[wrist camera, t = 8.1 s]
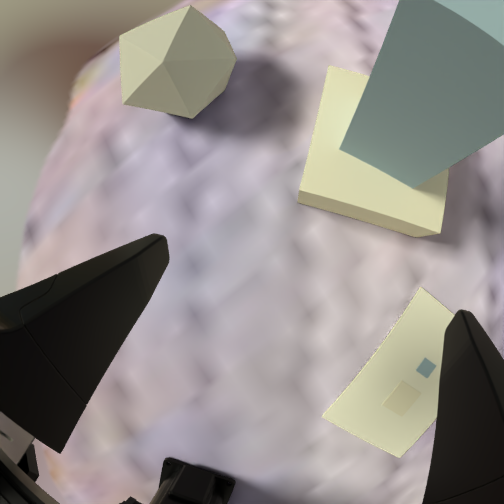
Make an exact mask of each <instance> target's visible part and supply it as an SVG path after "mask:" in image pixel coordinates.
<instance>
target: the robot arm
mask: <svg viewBox="0 0 504 504" xmlns="http://www.w3.org/2000/svg"><path fill="white" fill-rule="evenodd" d="M168 263H169V250H168V244H167V239H166V237H165V236H163V235H159V234H155V233H154V234H151V235H148V236H145V237H143V238H140V239H138V240H135V241H133V242H131V243H128V244H126V245H123V246H121V247H118V248H116V249H113V250H111V251H109V252H106V253H104V254H101V255H99V256H97V257H94V258H92V259H90V260H87V261H85V262H83V263H80V264H78V265H76V266H74V267H71V268H69V269H67V270H64V271H62V272H60V273H58V274H55V275H53V276H51V277H49V278H47V279H44V280H42V281H40V282H38V283H35V284H33V285H30V286H28V287H25V288H23V289H20V290H18V291H15V292H13V293H10V294H8V295H5V296H2V297H0V504H60V503H58V502H57V501H56V500H55V499H53V498H52V497H51V496H50V495H49V494H47V493H46V492H45V491H44V490H43V489H41V488H40V487H39V486H38V485H37V484H36V483H35V481H36V480H37V478H38V477H39V472H38V467H37V461H36V455H35V449H34V445H33V444H32V442H33V441H34V439H35V438H36V439H38V440H39V441H41V442H42V443H44V444H45V445H47V446H48V447H50V448H51V449H53V450H54V451H56V452H58V453H59V454H60V453H61V452H62V450H63V449H64V447H65V445H66V443H67V441H68V439H69V437H70V435H71V433H72V431H73V430H74V428H75V426H76V424H77V422H78V420H79V418H80V417H81V415H82V413H83V411H84V409H85V408H86V406H87V405H86V404H88V402H89V400H90V398H91V397H92V395H93V393H94V391H95V390H96V388H97V386H98V384H99V383H100V381H101V379H102V377H103V376H104V374H105V372H106V371H107V369H108V367H109V366H110V364H111V362H112V360H113V359H114V357H115V355H116V354H117V352H118V350H119V349H120V347H121V346H122V344H123V342H124V341H125V339H126V337H127V336H128V334H129V333H130V331H131V329H132V328H133V326H134V325H135V323H136V321H137V320H138V318H139V317H140V315H141V313H142V312H143V310H144V309H145V307H146V305H147V304H148V302H149V300H150V299H151V297H152V295H153V293H154V291H155V289H156V287H157V285H158V283H159V281H160V279H161V277H162V275H163V273H164V271H165V269H166V267H167V265H168ZM168 462H170V463H171V464H170V463H168ZM228 482H229V483H231V484H229V483H228ZM234 486H235V480H234V479H232V478H228V477H225V476H221V475H218V474H215V473H212V472H209V471H205V470H202V469H199V468H197V467H194V466H191V465H188V464H185V463H183V462H180V461H177V460H175V459H172V458H165V460H164V462H163V467H162V472H161V478H160V483H159V489H158V491H157V493H156V494H155V496H154V497H153V499H152V501H151V502H150V504H227V503H228V501H229V498H230V496H231V493H232V491H233V488H234ZM119 504H142V503H140V502H138V501H136V499H134V498H132V497H131V496H130V497H129V498H128V499H127V501H123V502H122V503H119ZM422 504H504V359H503V358H502V356H501V355H500V353H499V352H498V350H497V348H496V347H495V345H494V344H493V342H492V341H491V339H490V338H489V336H488V335H487V333H486V332H485V331H484V329H483V328H482V326H481V325H480V323H479V322H478V321H477V319H476V318H475V316H474V315H473V314H472V313H471V312H470V311H466V310H458V311H457V313H456V314H455V316H454V317H453V319H452V320H451V322H450V323H449V325H448V326H447V328H446V330H445V334H444V344H443V354H442V363H441V371H440V379H439V395H438V409H437V420H436V430H435V438H434V445H433V452H432V458H431V464H430V470H429V475H428V480H427V485H426V490H425V494H424V498H423V503H422Z"/></svg>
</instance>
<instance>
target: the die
mask: <svg viewBox="0 0 504 504" xmlns="http://www.w3.org/2000/svg"><path fill="white" fill-rule="evenodd" d="M119 42H120V71H121V88H122V101H123V104H124V105H129V106H135V107H140V108H145V109H150V110H155V111H160V112H165V113H169V114H174V115H178V116H183V117H187V118H191V119H193V118H194V117H195V116H196V115H197V114H198V113H199V112H200V111H202V110H203V109H204V108H205V107H206V106H207V105H208V104H209V103H211V102H212V101H213V100H214V99H215V98H216V97H218V96H219V95H220V94H221V93H222V92H223V91H225V88H226V86H227V83H228V80H229V78H230V75H231V73H232V70H233V67H234V65H235V62H236V60H237V58H236V56H235V53H234V51H233V49H232V47H231V45H230V42H229V40H228V38H227V36H226V34H225V32H224V31H223V30H222V29H221V28H220V27H218V26H217V25H216V24H215V23H213V22H212V21H211V20H209V19H208V18H207V17H206V16H204V15H203V14H202V13H200V12H199V11H198V10H196V9H195V8H194V7H192V6H191V5H190V6H187V7H184V8H182V9H179V10H176V11H174V12H171V13H169V14H166V15H164V16H161V17H159V18H157V19H154V20H152V21H150V22H148V23H145V24H143V25H141V26H139V27H137V28H135V29H132V30H130V31H128V32H126V33H124V34H122V35H120V36H119Z"/></svg>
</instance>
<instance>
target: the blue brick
mask: <svg viewBox="0 0 504 504" xmlns="http://www.w3.org/2000/svg"><path fill="white" fill-rule="evenodd" d="M502 135H504V0H399V3H398V5H397V8H396V11H395V13H394V16H393V19H392V21H391V24H390V27H389V29H388V32H387V34H386V37H385V40H384V42H383V45H382V47H381V50H380V52H379V55H378V57H377V60H376V62H375V65H374V67H373V70H372V72H371V75H370V77H369V80H368V82H367V85H366V87H365V89H364V92H363V94H362V97H361V99H360V101H359V104H358V106H357V108H356V111H355V113H354V116H353V118H352V120H351V123H350V125H349V127H348V130H347V132H346V134H345V136H344V139H343V141H342V143H341V146H340V148H339V150H341V151H343V152H346V153H348V154H350V155H352V156H354V157H356V158H358V159H359V160H361V161H363V162H365V163H367V164H369V165H371V166H373V167H375V168H377V169H379V170H380V171H382V172H384V173H386V174H388V175H390V176H391V177H393V178H395V179H397V180H398V181H400V182H402V183H404V184H405V185H407V186H409V187H411V188H412V189H413V188H415V187H416V186H418V185H420V184H422V183H423V182H425V181H427V180H428V179H430V178H432V177H434V176H435V175H437V174H439V173H440V172H442V171H444V170H445V169H447V168H449V167H451V166H452V165H454V164H456V163H457V162H459V161H461V160H462V159H464V158H466V157H467V156H469V155H471V154H472V153H474V152H476V151H477V150H479V149H481V148H482V147H484V146H486V145H487V144H489V143H491V142H492V141H494V140H495V139H497V138H499V137H500V136H502Z"/></svg>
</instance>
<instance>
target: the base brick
mask: <svg viewBox="0 0 504 504" xmlns="http://www.w3.org/2000/svg"><path fill="white" fill-rule="evenodd" d="M368 80H369V76H366V75H363V74H359V73H356V72H352V71H349V70H345V69H341V68H338V67H334V66H328V71H327V75H326V80H325V84H324V89H323V93H322V98H321V102H320V106H319V111H318V115H317V119H316V124H315V128H314V132H313V136H312V140H311V144H310V149H309V153H308V157H307V161H306V165H305V169H304V173H303V177H302V181H301V185H300V189H299V195H298V202H297V203H301V204H304V205H308V206H312V207H315V208H319V209H323V210H326V211H330V212H334V213H337V214H341V215H344V216H347V217H351V218H354V219H358V220H361V221H364V222H368V223H371V224H374V225H378V226H381V227H384V228H387V229H391V230H394V231H397V232H400V233H403V234H406V235H409V236H412V237H415V238H416V237H422V236H428V235H434V234H440V232H441V226H442V220H443V214H444V208H445V201H446V193H447V185H448V175H449V168H447V169H445V170H444V171H442V172H440V173H439V174H437V175H435V176H434V177H432V178H430V179H428V180H427V181H425V182H423V183H422V184H420V185H418V186H416V187H415V188H413V189H412V188H411V187H409V186H407V185H405V184H404V183H402V182H400V181H398V180H397V179H395V178H393V177H391V176H390V175H388V174H386V173H384V172H382V171H380V170H379V169H377V168H375V167H373V166H371V165H369V164H367V163H365V162H363V161H361V160H359V159H358V158H356V157H354V156H352V155H350V154H348V153H346V152H343V151H341V150H339V148H340V146H341V143H342V141H343V139H344V136H345V134H346V132H347V130H348V127H349V125H350V123H351V120H352V118H353V116H354V113H355V111H356V108H357V106H358V104H359V101H360V99H361V97H362V94H363V92H364V89H365V87H366V85H367V82H368Z"/></svg>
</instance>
